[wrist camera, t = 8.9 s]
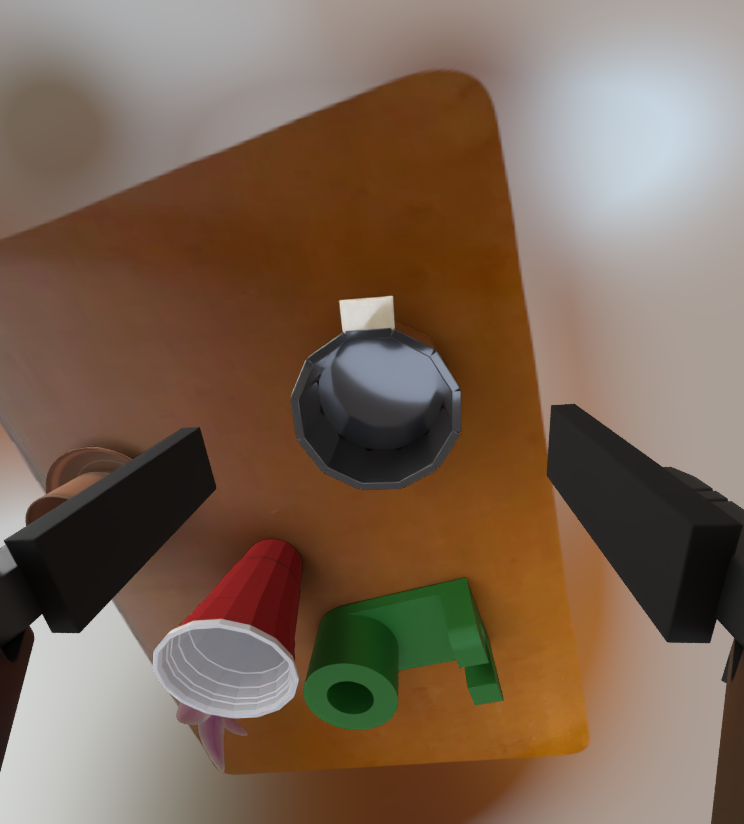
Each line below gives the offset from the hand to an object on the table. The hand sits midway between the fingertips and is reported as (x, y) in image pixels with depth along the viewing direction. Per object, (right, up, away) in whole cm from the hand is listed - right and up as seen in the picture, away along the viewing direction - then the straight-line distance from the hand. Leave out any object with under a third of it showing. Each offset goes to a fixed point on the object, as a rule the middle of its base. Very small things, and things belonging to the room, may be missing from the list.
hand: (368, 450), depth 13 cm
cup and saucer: (-25, -7, +23) cm, 35 cm away
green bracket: (+3, -22, +26) cm, 34 cm away
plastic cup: (-10, -14, +24) cm, 30 cm away
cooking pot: (+1, +3, +15) cm, 16 cm away
